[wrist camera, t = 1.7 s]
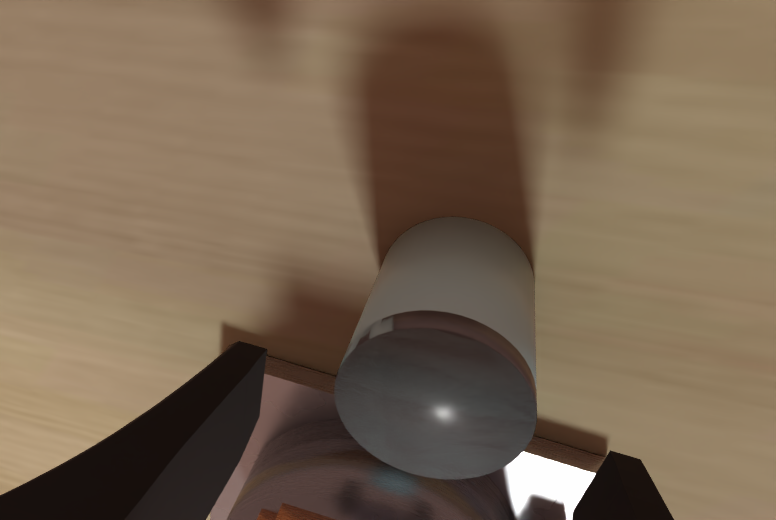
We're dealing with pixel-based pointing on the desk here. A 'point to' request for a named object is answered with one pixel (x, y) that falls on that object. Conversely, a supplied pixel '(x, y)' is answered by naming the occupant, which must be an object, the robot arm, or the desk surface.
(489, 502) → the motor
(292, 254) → the desk surface
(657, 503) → the robot arm
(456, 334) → the cylinder
